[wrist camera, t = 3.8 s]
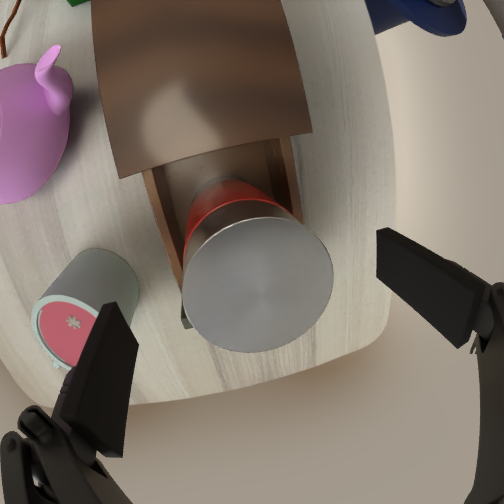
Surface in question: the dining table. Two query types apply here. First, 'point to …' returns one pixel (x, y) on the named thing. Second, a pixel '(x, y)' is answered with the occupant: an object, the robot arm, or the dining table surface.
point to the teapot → (32, 124)
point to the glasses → (1, 39)
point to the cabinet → (194, 77)
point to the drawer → (211, 166)
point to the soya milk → (76, 2)
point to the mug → (82, 303)
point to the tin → (251, 269)
